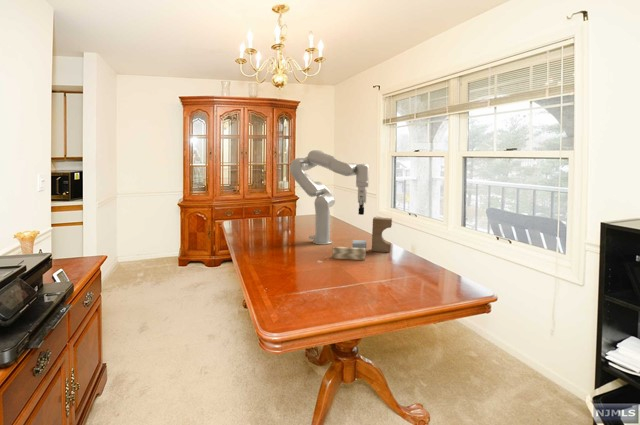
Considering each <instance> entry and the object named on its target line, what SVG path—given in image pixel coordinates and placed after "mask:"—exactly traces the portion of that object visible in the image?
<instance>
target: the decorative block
mask: <svg viewBox="0 0 640 425" xmlns="http://www.w3.org/2000/svg"><path fill="white" fill-rule="evenodd" d="M392 226H393V218H392V217H376V216H373V218H372V230H371V231H372V232H371V251H372V252H377V253H391V248H392V243H391V242H389V241H387V240H386V239H384V236H383V232H384V231H385V230H386V229H390V228H391V229H392Z"/></svg>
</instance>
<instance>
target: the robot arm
mask: <svg viewBox="0 0 640 425" xmlns="http://www.w3.org/2000/svg"><path fill="white" fill-rule="evenodd" d="M317 166H318V167H321V168H324V169H327V170H329V171H332V172H333V173H335V174H339V175H341V176H344V177H352V176H355V177H356V178H355V187H356V188H357V203H358V215H360V216H361V215H364V214H365V204H366V203H367V193H368V192H367V188H369V175H370V171H369V170H370V166H369V165H368V164H366V163H359V164H357V163H347V162H343V161H341V160H338V159H336V158H335V156H333V155H330V154H327V153H324V152H323V151H322V150H318V149H317V150H315V149H313V150H310V151H309V152H308V153H307V156H306V157H297V158H294V159H292V160H291V162H290V164H289V172H290V176H291V177H292V178H293V179H294V181H295V182H296V183H297V184H298V185H299V186H300V188H301V189H302V190H303V191H304V192H305V194H306V195H307V196H309V197H311V198H315V197H316V198H315V200H314V202H313V203H314V210H315V224H314V225H315V234H314V235H308V239H309V240H312V242H313V244H316V245H320V246H321V245H331V244H333V240H332V239H330V238H331V212H330V208H332V207H333V206H334V205H335V204H336V199H335V196H334V195H333V193H332V192H331V191H330V190H329V189H328V188H327V187H326V185H324V183H322V182H320V181H314V180H313V179H312V178H311V177H310V175H308V174H307V172H305V171H309V170H311V169H312V168H315V167H317Z"/></svg>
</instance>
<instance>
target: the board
mask: <svg viewBox="0 0 640 425" xmlns="http://www.w3.org/2000/svg"><path fill="white" fill-rule="evenodd" d="M365 250H366V251H367V247H366V248H354V247H352V246H333V247H332V259H340V260H341V259H342V260H355V261H356V260H357V261H358V260H359V261H365V260H366V254H365Z"/></svg>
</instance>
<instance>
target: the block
mask: <svg viewBox="0 0 640 425" xmlns="http://www.w3.org/2000/svg"><path fill="white" fill-rule="evenodd" d="M351 247H354V248H366V250H365V255H366V254H367V240H363V239H362V240H361V239H360V240H359V239H353V240H352V245H351Z"/></svg>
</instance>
